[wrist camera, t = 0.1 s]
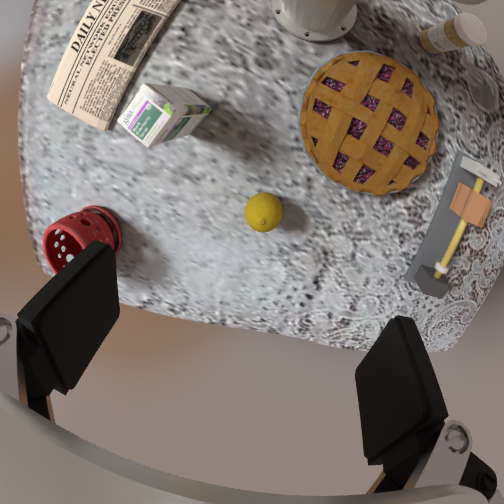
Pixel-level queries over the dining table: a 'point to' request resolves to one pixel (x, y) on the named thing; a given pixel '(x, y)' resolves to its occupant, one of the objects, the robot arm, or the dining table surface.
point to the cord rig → (447, 228)
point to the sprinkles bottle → (454, 34)
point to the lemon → (263, 212)
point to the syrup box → (162, 113)
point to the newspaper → (106, 56)
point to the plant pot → (80, 234)
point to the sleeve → (470, 205)
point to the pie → (368, 123)
